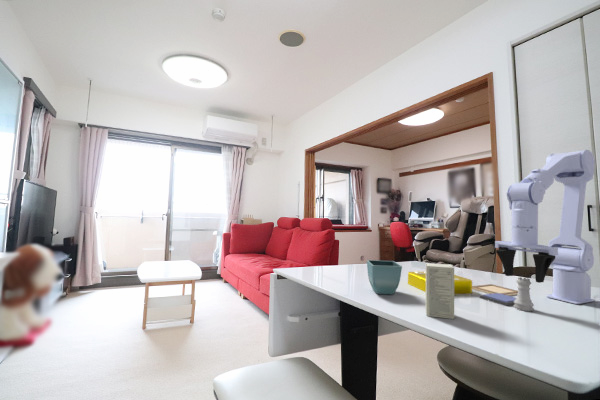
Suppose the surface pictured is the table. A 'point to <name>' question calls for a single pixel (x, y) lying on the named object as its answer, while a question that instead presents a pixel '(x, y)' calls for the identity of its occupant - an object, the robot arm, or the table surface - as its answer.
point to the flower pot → (384, 276)
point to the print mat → (495, 289)
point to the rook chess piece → (523, 295)
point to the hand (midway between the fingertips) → (523, 278)
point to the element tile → (460, 283)
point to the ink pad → (499, 298)
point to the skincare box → (440, 290)
